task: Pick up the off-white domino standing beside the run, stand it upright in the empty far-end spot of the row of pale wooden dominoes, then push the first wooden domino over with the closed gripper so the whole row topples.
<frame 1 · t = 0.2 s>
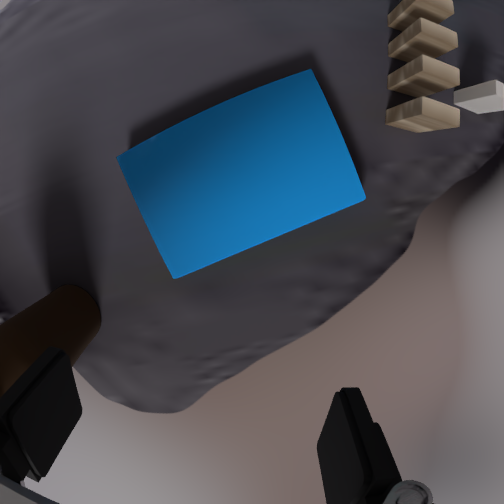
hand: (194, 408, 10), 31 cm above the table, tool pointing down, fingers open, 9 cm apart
end domino: (466, 102, 34), on the table
domino 3: (404, 86, 34), on the table
domino 1: (403, 26, 31), on the table
domino 4: (402, 121, 35), on the table
olive oil: (76, 311, 43), on the table
domino 2: (404, 55, 33), on the table
book: (241, 174, 38), on the table
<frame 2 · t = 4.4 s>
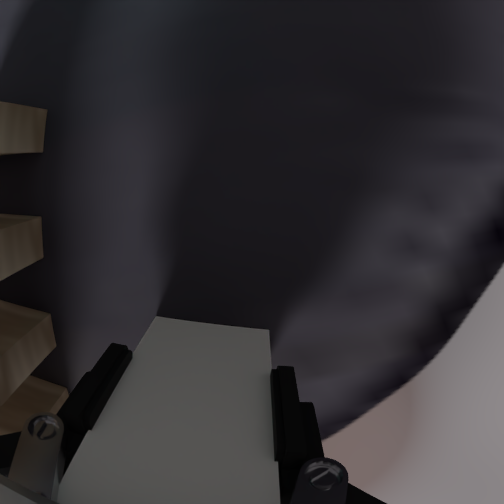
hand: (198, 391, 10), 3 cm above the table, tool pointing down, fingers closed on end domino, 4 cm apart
end domino: (210, 343, 14), on the table, touching gripper
domino 3: (20, 320, 14), on the table
domino 1: (10, 134, 11), on the table
domino 4: (39, 388, 15), on the table
domino 2: (8, 233, 12), on the table
when the fingers open (4 cm above the table, at t = 11.4 s): end domino stays where it is, on the table.
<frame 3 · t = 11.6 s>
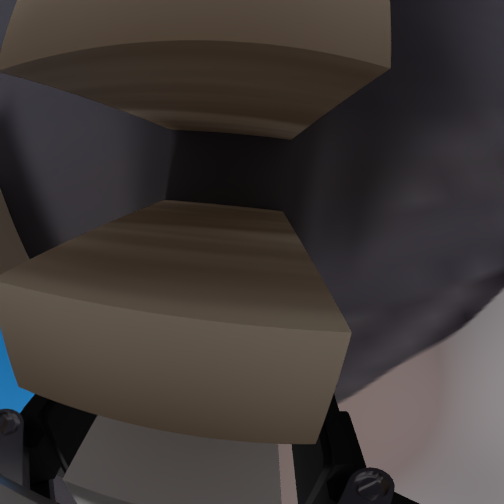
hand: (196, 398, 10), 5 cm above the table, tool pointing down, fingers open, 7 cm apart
end domino: (214, 333, 15), on the table
domino 3: (232, 109, 12), on the table
domino 4: (220, 228, 13), on the table
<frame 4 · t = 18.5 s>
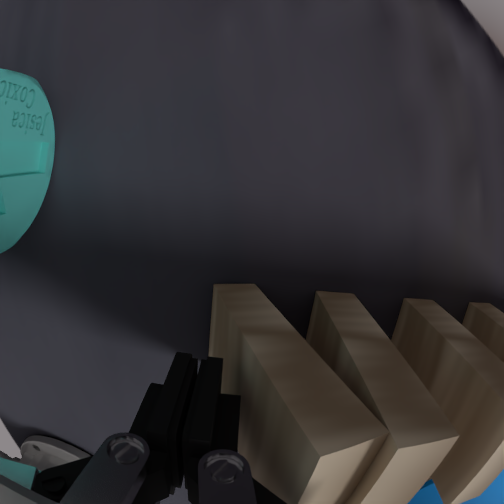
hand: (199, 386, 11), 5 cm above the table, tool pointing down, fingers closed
domino 3: (406, 338, 16), on the table
domino 1: (229, 330, 16), on the table, tilted 19°, touching domino 2
domino 4: (467, 338, 16), on the table
domino 2: (324, 336, 16), on the table, touching domino 1
book: (465, 474, 22), on the table
decorative dice: (9, 156, 14), on the table
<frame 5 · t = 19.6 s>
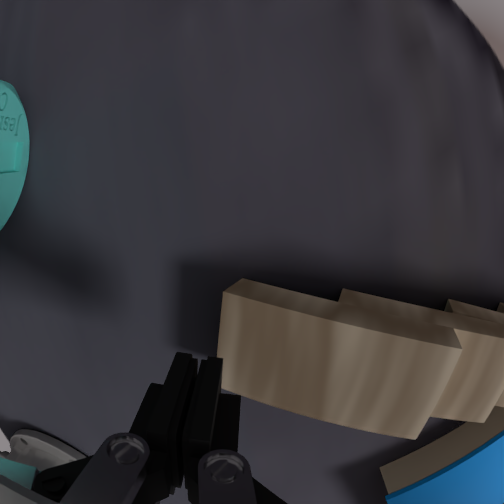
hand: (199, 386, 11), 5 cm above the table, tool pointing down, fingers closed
domino 3: (435, 345, 15), point 1 cm above the table, tilted 65°, touching domino 2, domino 4
domino 1: (227, 333, 14), point 1 cm above the table, tilted 69°, touching domino 2
domino 2: (328, 341, 15), point 1 cm above the table, tilted 69°, touching domino 1, domino 3
book: (460, 475, 22), on the table
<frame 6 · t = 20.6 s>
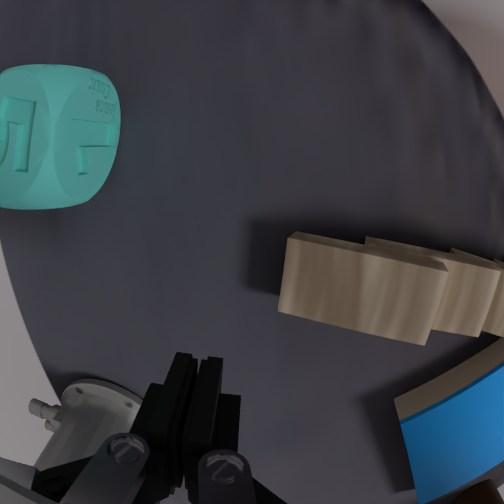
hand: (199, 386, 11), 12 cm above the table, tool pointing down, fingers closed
domino 3: (443, 281, 21), point 1 cm above the table, tilted 66°, touching domino 2, domino 4
domino 1: (287, 271, 21), point 1 cm above the table, tilted 69°, touching domino 2
olive oil: (471, 492, 35), on the table
domino 2: (358, 274, 21), point 1 cm above the table, tilted 71°, touching domino 1, domino 3
book: (463, 422, 28), on the table
decorative dice: (76, 135, 20), on the table
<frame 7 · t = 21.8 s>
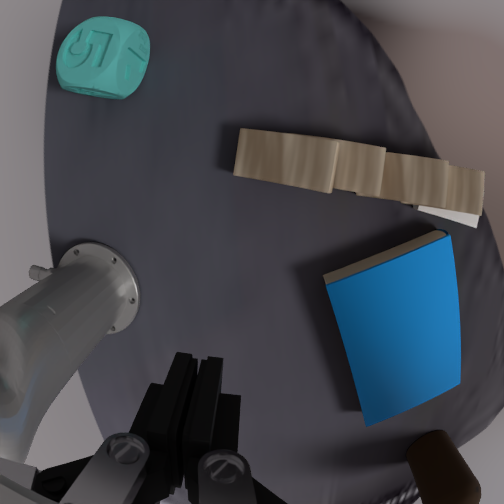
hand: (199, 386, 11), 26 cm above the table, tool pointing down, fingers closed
end domino: (418, 188, 33), on the table, tilted 90°
domino 3: (358, 172, 33), point 1 cm above the table, tilted 66°, touching domino 4
domino 1: (240, 152, 32), point 1 cm above the table, tilted 68°, touching domino 2
domino 4: (402, 181, 33), point 1 cm above the table, tilted 66°, touching domino 3
olive oil: (426, 445, 46), on the table
domino 2: (288, 157, 33), point 1 cm above the table, tilted 72°, touching domino 1
book: (399, 330, 40), on the table
decorative dice: (118, 68, 31), on the table
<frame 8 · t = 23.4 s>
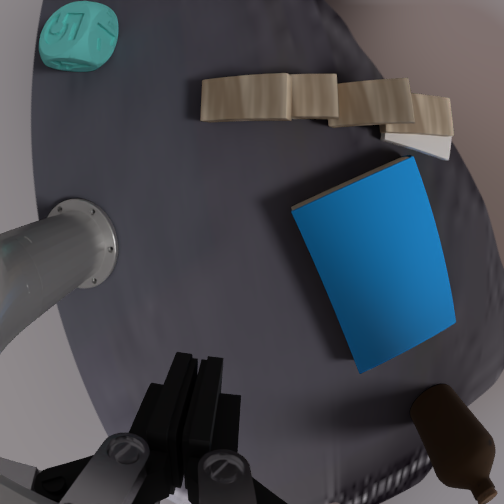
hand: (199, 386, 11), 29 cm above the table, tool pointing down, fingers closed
end domino: (384, 121, 34), on the table, tilted 90°, touching domino 4
domino 3: (328, 106, 34), point 1 cm above the table, tilted 59°
domino 1: (205, 101, 34), point 1 cm above the table, tilted 69°, touching domino 2
domino 4: (381, 111, 32), point 2 cm above the table, tilted 90°, touching end domino
olive oil: (430, 402, 47), on the table
domino 2: (250, 99, 34), point 1 cm above the table, tilted 75°, touching domino 1
book: (380, 265, 40), on the table
decorative dice: (93, 46, 32), on the table
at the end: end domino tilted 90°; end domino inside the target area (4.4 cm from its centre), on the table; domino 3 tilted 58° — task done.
